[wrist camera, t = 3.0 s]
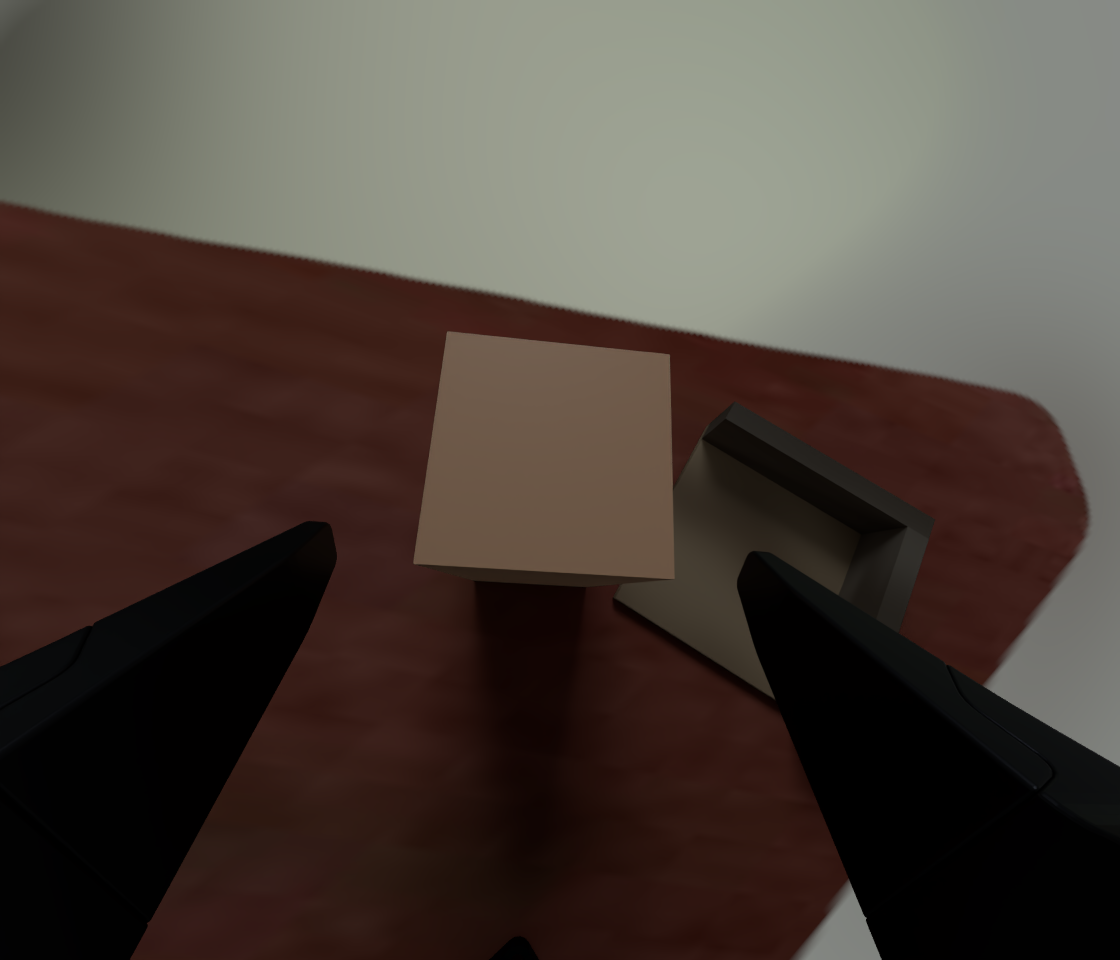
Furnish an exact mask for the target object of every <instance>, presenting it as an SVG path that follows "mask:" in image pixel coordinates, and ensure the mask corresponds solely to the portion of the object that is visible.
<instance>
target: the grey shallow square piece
mask: <svg viewBox="0 0 1120 960" xmlns="http://www.w3.org/2000/svg"><path fill="white" fill-rule="evenodd" d="M934 521H935V519H933V518H932V517H930V516H928V515H926V514H925V513H923V512H921V511H920V510H918V509H916V508H915V507H913V506H911V505H909V504H908V503H906V502H904V501H903V500H901V499H899V498H898V497H896V496H894V495H893V494H891V493H889V492H887V491H886V490H884V489H882V488H881V487H879V486H877V485H876V484H874V483H872V482H870V481H869V480H867V479H865V478H864V477H862V476H860V475H859V474H857V473H855V472H853V471H852V470H850V469H848V468H847V467H845V466H843V465H842V464H840V463H838V462H837V461H835V460H833V459H831V458H830V457H828V456H826V455H825V454H823V453H821V452H820V451H818V450H816V449H814V448H813V447H811V446H809V445H808V444H806V443H804V442H803V441H801V440H799V439H797V438H796V437H794V436H792V435H791V434H789V433H787V432H786V431H784V430H782V429H781V428H779V427H777V426H775V425H774V424H772V423H770V422H769V421H767V420H765V419H764V418H762V417H760V416H758V415H757V414H755V413H753V412H752V411H750V410H748V409H747V408H745V407H743V406H741V405H740V404H738V403H736V402H734V403H733V404H731V405H730V406H729V407H728V408H727V409H726V410H725V411H724V412H722V413H721V414H720V415H719V416H718V417H717V418H716V419H715V420H713V421H712V422H711V423H710V424H709V425H708V426H707V427H706V428H705V430H704V432H703V434H702V436H701V438H700V439H699V441H698V443H697V445H696V447H695V449H694V450H693V452H692V454H691V456H690V458H689V460H688V461H687V463H686V465H685V467H684V469H683V470H682V472H681V474H680V476H679V478H678V480H677V481H676V483H675V485H674V487H673V527H674V572H675V579H672V580H661V581H650V582H638V583H627V584H620V586H619V588H618V589H617V591H616V593H615V595H614V597H613V598H614V599H616V600H617V601H619V602H621V603H622V604H624V605H625V606H627V607H628V608H630V609H632V610H633V611H635V612H636V613H638V614H639V615H641V616H643V617H644V618H646V619H647V620H649V621H651V622H652V623H654V624H655V625H657V626H658V627H660V628H662V629H663V630H665V631H666V632H668V633H669V634H671V635H673V636H674V637H676V638H677V639H679V640H680V641H682V642H684V643H685V644H687V645H688V646H690V647H691V648H693V649H695V650H696V651H698V652H699V653H701V654H703V655H704V656H706V657H707V658H709V659H710V660H712V661H714V662H715V663H717V664H718V665H720V666H721V667H723V668H725V669H726V670H728V671H729V672H731V673H732V674H734V675H736V676H737V677H739V678H740V679H742V680H743V681H745V682H747V683H748V684H750V685H751V686H753V687H755V688H756V689H758V690H759V691H761V692H762V693H764V694H766V695H767V696H769V697H770V698H772V699H773V700H775V698H774V695H773V693H772V690H771V688H770V685H769V683H768V680H767V678H766V676H765V673H764V671H763V668H762V666H761V663H760V661H759V658H758V656H757V653H756V650H755V647H754V644H753V641H752V638H751V634H750V631H749V627H748V624H747V621H746V617H745V614H744V610H743V607H742V604H741V600H740V597H739V593H738V590H737V578H738V576H739V573H740V571H741V569H742V566H743V564H744V561H745V559H746V557H747V555H748V554H749V553H750V552H751V551H764V552H770V553H772V554H774V555H775V556H777V557H778V558H780V559H782V560H783V561H785V562H786V563H788V564H790V565H791V566H793V567H794V568H796V569H797V570H799V571H801V572H802V573H804V574H805V575H807V576H809V577H810V578H812V579H813V580H815V581H816V582H818V583H820V584H821V585H823V586H824V587H826V588H828V589H829V590H831V591H832V592H834V593H835V594H837V595H839V596H840V597H842V598H843V599H845V600H847V601H848V602H850V603H851V604H853V605H855V606H856V607H858V608H859V609H861V610H862V611H864V612H866V613H867V614H869V615H870V616H872V617H874V618H875V619H877V620H878V621H880V622H881V623H883V624H885V625H886V626H888V627H889V628H891V629H893V630H894V631H896V632H897V633H899V630H900V627H901V624H902V620H903V617H904V614H905V611H906V608H907V605H908V602H909V599H910V596H911V592H912V589H913V586H914V583H915V580H916V577H917V574H918V571H919V568H920V565H921V561H922V558H923V555H924V552H925V549H926V546H927V543H928V540H929V537H930V533H931V530H932V527H933V524H934ZM775 701H776V700H775Z"/></svg>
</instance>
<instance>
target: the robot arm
mask: <svg viewBox="0 0 1120 960" xmlns="http://www.w3.org/2000/svg"><path fill="white" fill-rule="evenodd" d="M336 560H337V552H336V547H335V543H334V538H333V533H332V528H331V526H330V524H328V523H327V522H316V521H307V522H304V523H302V524H300V525H298V526H296V527H293V528H291V529H289V530H287V531H285V532H283V533H281V534H279V535H277V536H275V537H273V538H271V539H268V540H266V541H264V542H262V543H260V544H258V545H256V546H254V547H252V548H250V549H248V550H245V551H243V552H241V553H239V554H237V555H235V556H233V557H231V558H229V559H227V560H225V561H222V562H220V563H218V564H216V565H214V566H212V567H210V568H208V569H206V570H204V571H202V572H199V573H197V574H195V575H193V576H191V577H189V578H187V579H185V580H183V581H181V582H179V583H176V584H174V585H172V586H170V587H168V588H166V589H164V590H162V591H160V592H158V593H156V594H153V595H151V596H149V597H147V598H145V599H143V600H141V601H139V602H137V603H135V604H133V605H130V606H128V607H126V608H124V609H122V610H120V611H118V612H116V613H114V614H112V615H110V616H107V617H105V618H103V619H101V620H99V621H97V622H95V623H94V625H93V627H92V626H86V627H84V628H82V629H80V630H78V631H76V632H74V633H72V634H70V635H68V636H66V637H64V638H61V639H59V640H57V641H55V642H53V643H51V644H49V645H47V646H44V647H42V648H40V649H38V650H36V651H34V652H32V653H29V654H27V655H25V656H23V657H21V658H19V659H16V660H14V661H12V662H10V663H8V664H6V665H3V666H1V667H0V960H130V958H131V956H132V955H133V953H134V951H135V949H136V947H137V945H138V944H139V942H140V940H141V938H142V936H143V934H144V933H145V931H146V929H147V927H148V924H147V923H148V922H149V921H150V920H151V919H152V917H153V915H154V913H155V911H156V910H157V908H158V906H159V904H160V902H161V900H162V899H163V897H164V895H165V893H166V891H167V889H168V888H169V886H170V884H171V882H172V880H173V878H174V877H175V875H176V873H177V871H178V869H179V867H180V866H181V864H182V862H183V860H184V858H185V856H186V855H187V853H188V851H189V849H190V847H191V845H192V844H193V842H194V840H195V838H196V836H197V834H198V833H199V831H200V829H201V827H202V825H203V823H204V822H205V820H206V818H207V816H208V814H209V812H210V811H211V809H212V807H213V805H214V803H215V801H216V800H217V798H218V796H219V794H220V792H221V790H222V789H223V787H224V785H225V783H226V781H227V779H228V778H229V776H230V774H231V772H232V770H233V768H234V767H235V765H236V763H237V761H238V759H239V757H240V756H241V754H242V752H243V750H244V748H245V746H246V745H247V743H248V741H249V739H250V737H251V735H252V734H253V732H254V730H255V728H256V726H257V724H258V723H259V721H260V719H261V717H262V715H263V713H264V712H265V710H266V708H267V706H268V704H269V702H270V701H271V699H272V697H273V695H274V693H275V691H276V690H277V688H278V686H279V684H280V682H281V680H282V679H283V677H284V675H285V673H286V671H287V669H288V668H289V666H290V664H291V662H292V660H293V658H294V657H295V655H296V653H297V651H298V649H299V647H300V645H301V644H302V642H303V640H304V638H305V636H306V634H307V632H308V630H309V628H310V625H311V623H312V621H313V619H314V616H315V614H316V611H317V609H318V606H319V604H320V601H321V599H322V597H323V594H324V592H325V589H326V587H327V584H328V582H329V579H330V577H331V574H332V572H333V570H334V567H335V564H336ZM737 590H738V593H739V597H740V600H741V604H742V607H743V610H744V614H745V617H746V621H747V624H748V627H749V631H750V634H751V638H752V641H753V644H754V647H755V650H756V653H757V656H758V658H759V661H760V663H761V666H762V668H763V671H764V673H765V676H766V678H767V680H768V683H769V685H770V688H771V690H772V693H773V695H774V698H775V700H776V702H777V705H778V707H779V710H780V712H781V715H782V717H783V719H784V722H785V724H786V727H787V729H788V732H789V734H790V737H791V739H792V741H793V744H794V746H795V749H796V751H797V754H798V756H799V758H800V761H801V763H802V766H803V768H804V771H805V773H806V775H807V778H808V780H809V783H810V785H811V788H812V790H813V793H814V795H815V797H816V800H817V802H818V805H819V807H820V810H821V812H822V814H823V817H824V819H825V822H826V824H827V827H828V829H829V831H830V834H831V836H832V839H833V841H834V844H835V846H836V849H837V851H838V853H839V856H840V858H841V861H842V863H843V866H844V868H845V870H846V873H847V875H848V878H849V880H850V883H851V885H852V888H853V890H854V892H855V895H856V897H857V900H858V902H859V905H860V907H861V909H862V912H863V914H864V916H865V917H866V918H867V919H866V922H867V925H868V927H869V930H870V932H871V934H872V937H873V939H874V942H875V944H876V947H877V949H878V952H879V954H880V957H881V958H882V960H1120V767H1119V766H1118V765H1116V764H1114V763H1112V762H1111V761H1109V760H1107V759H1105V758H1104V757H1102V756H1100V755H1098V754H1097V753H1095V752H1093V751H1092V750H1090V749H1088V748H1086V747H1085V746H1083V745H1081V744H1079V743H1077V742H1076V741H1074V740H1072V739H1071V738H1069V737H1067V736H1066V735H1064V734H1062V733H1060V732H1059V731H1057V730H1055V729H1053V728H1052V727H1050V726H1048V725H1047V724H1045V723H1043V722H1041V721H1040V720H1038V719H1036V718H1035V717H1033V716H1031V715H1030V714H1028V713H1026V712H1024V711H1023V710H1021V709H1019V708H1018V707H1016V706H1014V705H1012V704H1011V703H1009V702H1008V701H1006V700H1004V699H1003V698H1001V697H1000V696H997V695H996V694H995V693H993V692H991V691H990V690H988V689H987V688H985V687H983V686H982V685H980V684H978V683H977V682H975V681H974V680H972V679H970V678H969V677H967V676H966V675H964V674H963V673H961V672H959V671H958V670H956V669H955V668H953V667H951V666H950V665H946V664H945V663H944V662H943V661H942V660H940V659H939V658H937V657H935V656H934V655H932V654H931V653H929V652H927V651H926V650H924V649H923V648H921V647H920V646H918V645H916V644H915V643H913V642H912V641H910V640H908V639H907V638H905V637H904V636H902V635H900V634H899V633H897V632H896V631H894V630H893V629H891V628H889V627H888V626H886V625H885V624H883V623H881V622H880V621H878V620H877V619H875V618H874V617H872V616H870V615H869V614H867V613H866V612H864V611H862V610H861V609H859V608H858V607H856V606H855V605H853V604H851V603H850V602H848V601H847V600H845V599H843V598H842V597H840V596H839V595H837V594H835V593H834V592H832V591H831V590H829V589H828V588H826V587H824V586H823V585H821V584H820V583H818V582H816V581H815V580H813V579H812V578H810V577H809V576H807V575H805V574H804V573H802V572H801V571H799V570H797V569H796V568H794V567H793V566H791V565H790V564H788V563H786V562H785V561H783V560H782V559H780V558H778V557H777V556H775V555H774V554H772V553H770V552H764V551H751V552H750V553H749V554H748V555H747V557H746V559H745V561H744V564H743V566H742V569H741V571H740V573H739V576H738V578H737ZM516 954H520V955H522V956H523V957H524V958H523V960H539V959H538V957H537V956H536V954H535V952H534V950H533V949H532V947H531V945H530V943H529V942H528V941H527V940H526V939H525V938H523V937H521V936H518V937H514V938H512V939H511V940H509V941H508V942H507V943H506V944H505V945H504V946H503V947H502V948H501V949H500V950H499V951H498V952H497V953H496V954H495V955H494V956H493V957H492V958H490V959H489V960H511V959H512V957H513V956H514V955H516Z"/></svg>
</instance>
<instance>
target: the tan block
mask: <svg viewBox="0 0 1120 960" xmlns="http://www.w3.org/2000/svg"><path fill="white" fill-rule="evenodd" d="M413 564H416V565H419V566H423V567H427V568H430V569H434V570H437V571H441V572H445V573H448V574H452V575H455V576H459V577H462V578H466V579H470V580H473V581H486V582H504V583H522V584H539V585H557V586H574V587H593V586H605V585H616V584H627V583H638V582H650V581H661V580H672V579H675V572H674V527H673V482H672V436H671V391H670V355H669V354H660V353H650V352H640V351H631V350H621V349H612V348H602V347H592V346H583V345H573V344H563V343H554V342H544V341H534V340H525V339H515V338H505V337H496V336H486V335H477V334H467V333H457V332H448V331H447V337H446V344H445V351H444V358H443V365H442V371H441V378H440V385H439V392H438V399H437V406H436V412H435V419H434V426H433V433H432V440H431V446H430V453H429V460H428V467H427V474H426V480H425V487H424V494H423V501H422V508H421V514H420V521H419V528H418V535H417V542H416V549H415V555H414V562H413Z"/></svg>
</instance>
